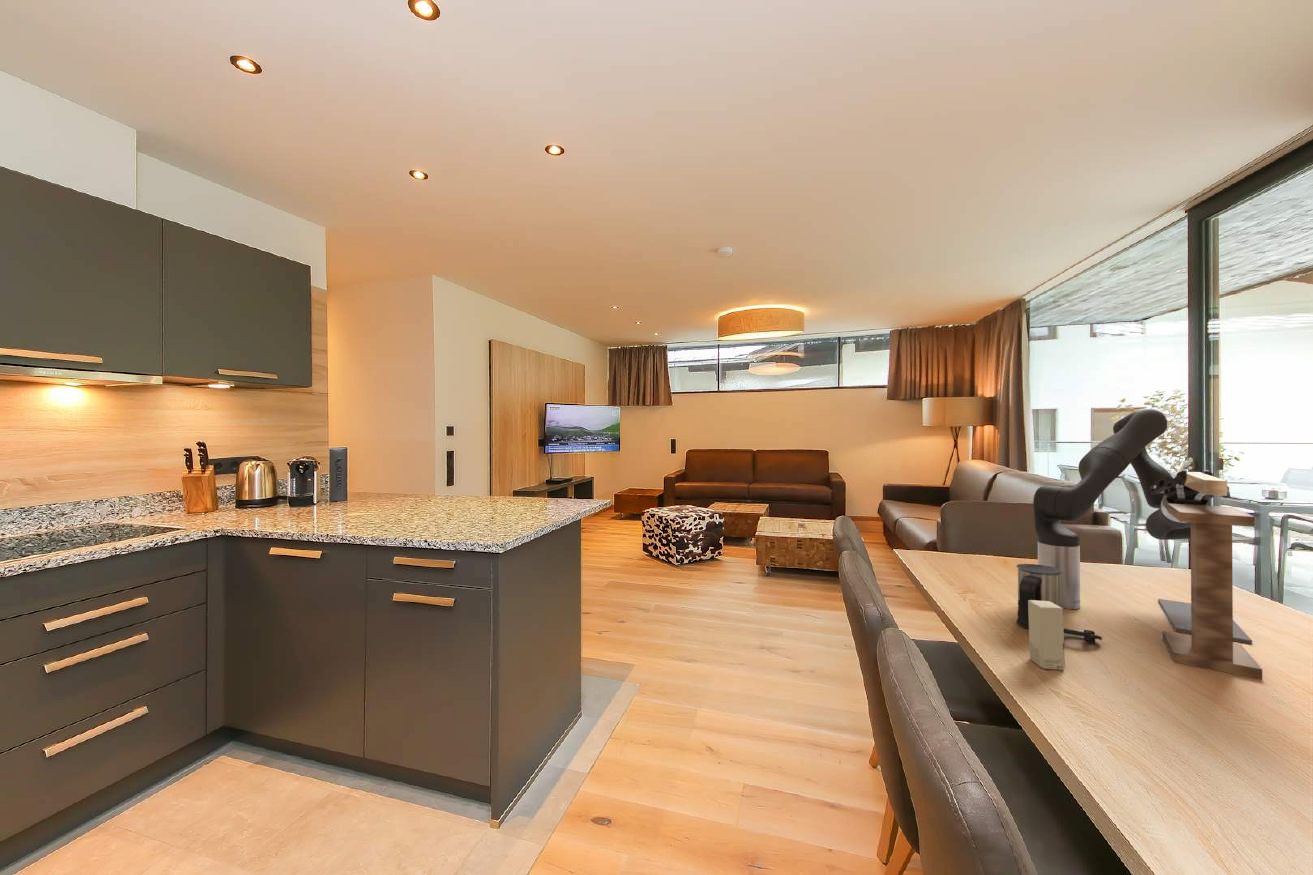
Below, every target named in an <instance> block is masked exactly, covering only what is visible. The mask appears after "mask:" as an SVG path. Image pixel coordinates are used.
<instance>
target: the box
mask: <svg viewBox="0 0 1313 875" xmlns="http://www.w3.org/2000/svg"><path fill="white" fill-rule="evenodd" d="M1028 614H1029V629H1028V636H1029V637H1028V638H1029V639H1028V640H1029V659H1030V660H1031V661H1033V662H1034V663H1035V664H1036V665H1037V666H1038V667H1040V668H1041V669H1044V670H1057V671H1058V670H1059V671H1065V670H1066V666H1065V665H1066V663H1065V662H1066V661H1065V660H1066V659H1065V633H1064V629H1065V628H1064V608H1061V607H1059V606H1058V605H1056V604H1054V603H1052V602H1050V601H1037V600H1028Z"/></svg>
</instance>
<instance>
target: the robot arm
mask: <svg viewBox="0 0 1313 875" xmlns="http://www.w3.org/2000/svg"><path fill="white" fill-rule="evenodd" d="M1167 429H1168V420H1167V416H1165V414H1164V413H1162V412H1161V411H1160V410H1157V409H1155V408H1148V407H1147V408H1141V409H1138V410H1135V411H1133V412H1131V413H1129V414H1127V415H1125V416H1124V417H1122V418H1120V419H1119V420H1118V421H1116V422H1115V423H1114V425H1113V427H1112V431H1113V435H1111V436H1109V437H1107V438H1105V439H1104V440H1103V441H1102V440H1101V442H1099V443H1098V444H1097V445H1095V446H1094V447H1093V448H1091V449H1090V450H1089V451H1088V452H1087V453H1086V454H1085V455H1084V456H1083V457H1082V458H1081V459H1080V461H1079V463H1078V473H1079V477H1080V479H1081V480H1080V481H1079V482H1078V483H1077V484H1076V485H1074V486H1072V487H1065V486H1053V485H1042V486H1039V487H1038V488H1037V489H1036V491H1035V493H1034V495H1033V503H1032V504H1033V517H1034V518H1033V519H1034V531H1035V533H1036V534H1035V535H1036V537H1037V565H1043V566H1050V567H1054V568H1057V569H1059V570H1061V571H1062V573H1061V608H1063V610H1065V609H1067V610H1076V609H1080V608H1081V552H1080V551H1081V545H1080V544H1081V539H1080V536H1079V535H1078V534H1077V533H1075V532H1074V531H1072V530H1070V529H1068V528H1066V527H1065V526H1064V525H1063V524H1062V523H1061V521H1067V522H1068V521H1069V522H1076V521H1079V520H1080V519H1082V518H1084V516H1086V514H1087V513H1088V512H1089V511H1090V510H1091V508H1092V507H1093V505H1094V504H1095V502H1097V500H1098V498H1099V497H1100V495H1101V494H1102V493H1104V491H1105V490H1106V489H1107V488H1108V487H1109V486H1110V485H1111V483H1113V482H1114V481H1115V480H1116V479H1117V478H1118V477H1119V476H1120V475H1121V474H1122V473H1123V472H1124V471H1125V470H1126V469H1127V468H1128V466H1129V465H1131V467H1132V468H1133V470H1134V472H1135V473H1136V476H1137V479H1138V481H1139V484H1140V486H1141V489H1142V492H1143V495H1144V497H1145V500H1146V504H1147V505H1148V506H1149V507H1151V508H1154V509H1157V510H1155V511H1154V512H1152V513H1151V514H1149V515H1148V517H1147V519H1146V521H1145V529H1146V531H1147V533H1148V534H1149V535H1150V536H1151V537H1152V538H1154V539H1156V540H1160V541H1161V540H1163V541H1167V540H1169V541H1170V540H1191V522H1180V521H1179V520H1177V519H1176V518H1175V517H1173V516H1172V515H1171V514H1170V513H1168V512H1167V503H1170V504H1188V505H1207V506H1208V503H1209V502H1210V501H1209V500H1211V499H1213V498H1214V497H1215V496H1217V497H1218V496H1219V497H1222V498H1224V499H1230V498H1231V491H1230V486H1228V485H1227V496H1221V495H1204V494H1202V493H1200V492H1198V491H1196V490H1193V489H1191V488H1189V487H1187V486H1185V485H1184V484H1185V482H1186V479H1187V472H1188V471H1187V469H1182V470H1181V471H1178V472H1177V473H1176V476H1174V477H1173V476H1172V474H1171V472H1169V471H1168V470H1167V469H1166V468H1164V467H1163V466H1162V465H1160V464H1159V463H1158V462H1156V461H1154V459H1153V458H1151V456H1150V454H1149V453H1148V451H1147V448H1146V447H1147V446H1148V445H1149V444H1150V443H1152V442H1153V441H1154V440H1156V439H1157V438H1159V437H1160V436H1162V435H1163V434H1164V433H1165V432H1166V431H1167ZM1202 473H1203V474H1207V475H1210V476H1213V477H1214V474H1213V472H1210V470H1203V472H1202Z"/></svg>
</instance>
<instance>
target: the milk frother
mask: <svg viewBox="0 0 1313 875" xmlns="http://www.w3.org/2000/svg"><path fill="white" fill-rule="evenodd" d="M1016 568H1017V619H1016V623H1017V624H1018V625H1019V626H1021V627H1023V628H1024V629H1028V630H1029V614H1028V600H1037V601H1050V602H1052V603H1054V604H1056V605H1058V606H1059V607H1061V573H1062V571H1061V570H1059V569H1057V568H1054V567H1050V566H1043V565H1038V563H1037V564H1034V563H1019V564H1016ZM1064 634H1066V635H1067V634H1068V635H1072V636H1077V637H1083V639H1084V641H1085V642H1087V643H1095V642H1096V640H1099V641H1102V640H1103V637H1102V636H1100V635H1097V634H1096V633H1095V631H1094V630H1087V629H1084V630H1083V631H1080V630H1074V629H1068V628H1064Z"/></svg>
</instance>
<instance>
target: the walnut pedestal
mask: <svg viewBox="0 0 1313 875" xmlns="http://www.w3.org/2000/svg"><path fill="white" fill-rule="evenodd" d="M1167 512H1168V513H1170V514H1171V515H1172V516H1173V517H1175V518H1176V519H1177V520H1179V521H1180V522H1191V539H1190V603H1191V635H1187V634H1183V633H1182V634H1181V633H1177V632H1170V631H1165V630H1164V631H1162V642H1163V643H1164V645H1165V648H1166V649H1167V652H1168V653H1169V655H1170V656H1171V659H1172V661H1173V662H1174V663H1178V664H1183V665H1188V666H1193V667H1197V668H1201V669H1206V670H1207V669H1208V670H1213V671H1217V672H1223V673H1228V674H1233V675H1238V676H1243V677H1248V678H1252V679H1253V678H1254V679H1259V680H1263V668H1262V667H1261V666H1260V665H1259V664H1258V662H1256V660H1255V659H1254V658H1253V656H1252V655H1251V654H1250V653H1249V651H1248V650H1246V649H1245V647H1244V645H1242V644H1240V643H1235V642H1234V641H1233V620H1234V619H1233V618H1234V616H1233V615H1234V613H1233V612H1234V611H1233V606H1234V605H1233V603H1234V602H1233V601H1234V600H1233V594H1234V593H1233V591H1234V590H1233V588H1234V587H1233V584H1234V583H1233V526H1238V527H1251V528H1254V527H1255V516H1253V515H1251V514H1249V513H1247V512H1245V511H1243V510H1240V509H1239V508H1236V507H1233V506H1226V505H1225V506H1224V505H1222V506H1219V505H1208V504H1207V505H1188V504H1170V503H1167Z"/></svg>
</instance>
